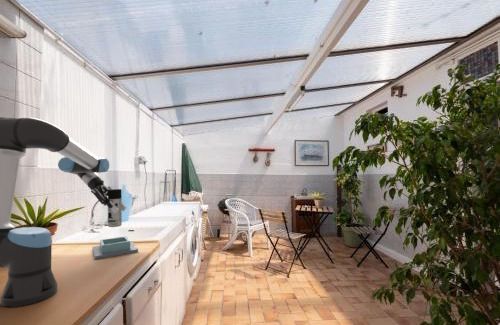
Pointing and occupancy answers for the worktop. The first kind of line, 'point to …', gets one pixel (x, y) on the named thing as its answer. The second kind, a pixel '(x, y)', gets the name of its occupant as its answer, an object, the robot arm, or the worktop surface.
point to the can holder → (114, 247)
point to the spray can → (116, 199)
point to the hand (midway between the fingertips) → (120, 210)
